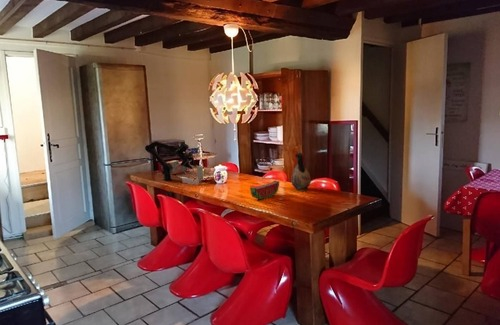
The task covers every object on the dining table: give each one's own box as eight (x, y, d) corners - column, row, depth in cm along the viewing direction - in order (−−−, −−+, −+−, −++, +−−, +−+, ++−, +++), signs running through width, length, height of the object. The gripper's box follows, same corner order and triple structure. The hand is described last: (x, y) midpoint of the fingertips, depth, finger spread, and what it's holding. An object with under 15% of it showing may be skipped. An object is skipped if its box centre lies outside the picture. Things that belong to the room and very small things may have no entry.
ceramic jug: (289, 187, 298) (288, 151, 293) (308, 186, 299) (307, 149, 294) (293, 193, 282) (293, 154, 276) (313, 192, 283) (313, 153, 277)
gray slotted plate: (201, 181, 333) (200, 167, 330) (198, 181, 334) (197, 167, 331) (203, 179, 338) (202, 165, 336) (200, 179, 339) (199, 165, 337)
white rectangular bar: (182, 182, 331) (182, 178, 331) (184, 182, 333) (184, 177, 332) (197, 184, 321) (197, 180, 320) (199, 184, 323) (199, 179, 322)
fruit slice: (255, 202, 263) (255, 188, 261) (249, 200, 267) (249, 187, 266) (280, 194, 281) (279, 181, 279) (274, 192, 285) (273, 180, 283)
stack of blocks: (182, 170, 386) (181, 158, 384) (186, 170, 383) (185, 159, 380) (166, 174, 370) (165, 162, 368) (170, 175, 366) (169, 162, 364)
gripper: (182, 151, 324) (195, 163, 324) (191, 147, 342) (203, 159, 341) (175, 159, 328) (187, 172, 327) (184, 156, 346) (196, 167, 345)
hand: (194, 167), depth 335 cm, fingers open, 9 cm apart
